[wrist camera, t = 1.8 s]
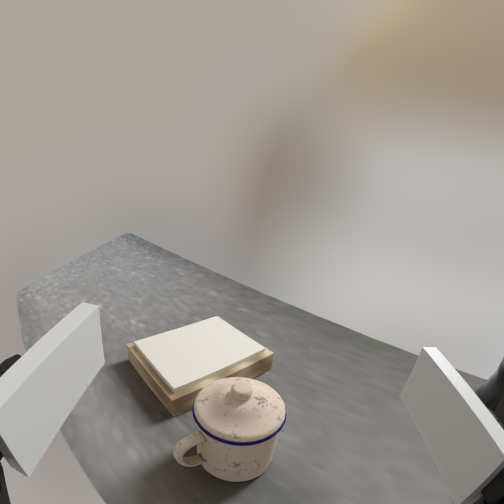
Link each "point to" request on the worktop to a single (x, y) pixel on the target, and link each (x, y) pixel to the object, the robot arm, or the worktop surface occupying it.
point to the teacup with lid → (234, 429)
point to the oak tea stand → (196, 360)
